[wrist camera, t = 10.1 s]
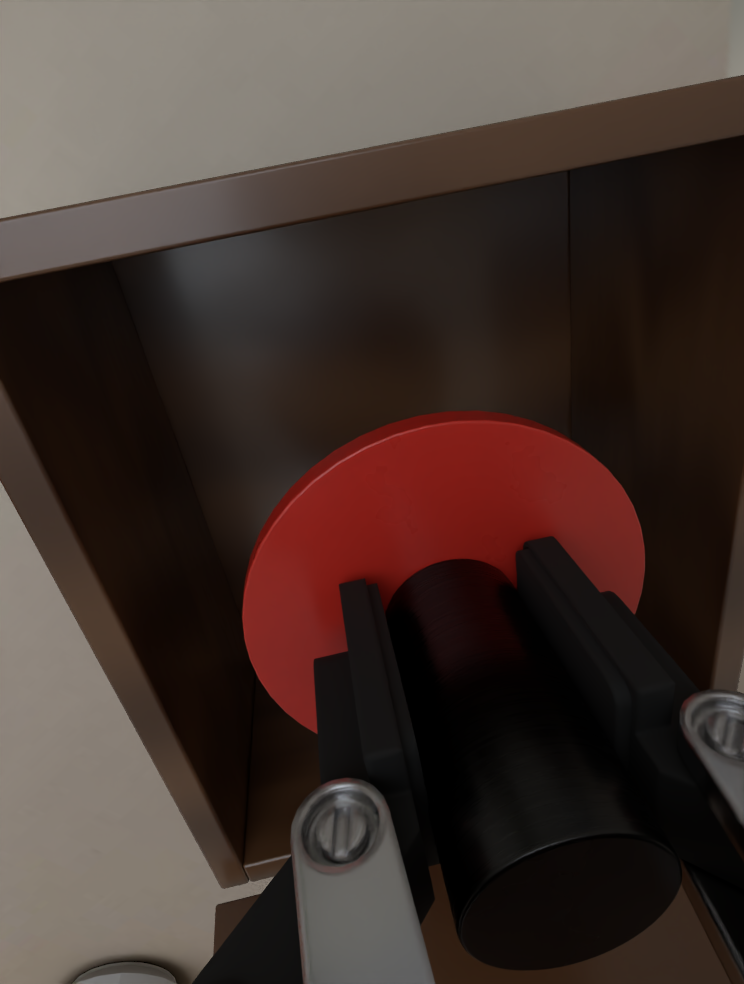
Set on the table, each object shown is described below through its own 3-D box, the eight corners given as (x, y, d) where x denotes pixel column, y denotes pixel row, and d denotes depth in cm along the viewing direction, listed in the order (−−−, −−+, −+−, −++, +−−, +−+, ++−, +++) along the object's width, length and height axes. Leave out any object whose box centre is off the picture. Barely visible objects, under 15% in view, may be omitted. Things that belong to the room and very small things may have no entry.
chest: (77, 226, 16) (-133, 243, 8) (582, 128, 16) (858, 52, 8) (243, 662, 23) (221, 891, 15) (581, 585, 24) (724, 766, 16)
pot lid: (493, 311, 10) (768, 441, 4) (691, 594, 13) (979, 865, 8) (154, 601, 11) (29, 969, 6) (411, 783, 15) (485, 1117, 9)
